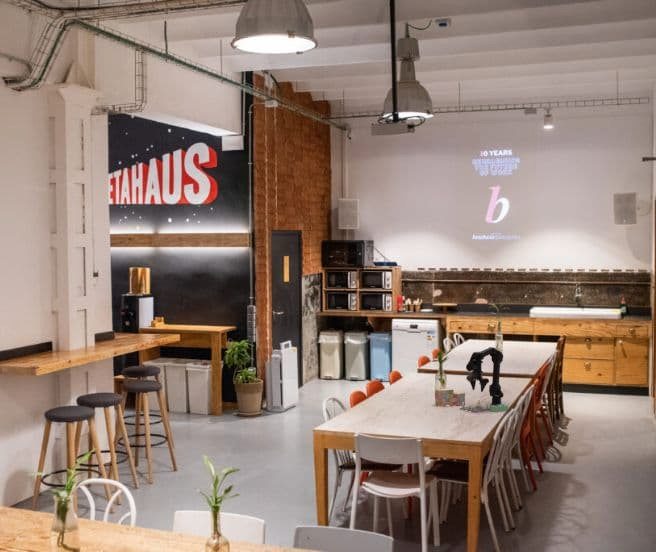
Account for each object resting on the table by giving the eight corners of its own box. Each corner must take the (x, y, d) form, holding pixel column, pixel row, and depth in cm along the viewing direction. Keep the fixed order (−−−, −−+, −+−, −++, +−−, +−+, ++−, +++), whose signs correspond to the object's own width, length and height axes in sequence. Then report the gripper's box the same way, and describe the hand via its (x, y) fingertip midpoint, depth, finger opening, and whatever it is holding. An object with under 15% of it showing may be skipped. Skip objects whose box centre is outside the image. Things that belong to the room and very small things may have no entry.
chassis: (477, 406, 591) (477, 399, 591) (490, 410, 579) (490, 402, 579) (459, 409, 582) (459, 401, 582) (472, 412, 570) (472, 404, 570)
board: (502, 409, 582) (502, 403, 582) (507, 411, 577) (507, 404, 577) (489, 411, 576) (489, 405, 576) (495, 412, 571) (495, 406, 570)
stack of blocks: (462, 404, 603) (462, 387, 603) (465, 405, 597) (465, 389, 597) (435, 405, 599) (435, 388, 598) (437, 406, 593) (437, 390, 592)
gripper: (460, 369, 584) (460, 390, 585) (477, 372, 568) (477, 394, 569) (472, 367, 590) (472, 388, 591) (489, 371, 574) (489, 392, 574)
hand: (477, 391), depth 581 cm, fingers open, 9 cm apart
